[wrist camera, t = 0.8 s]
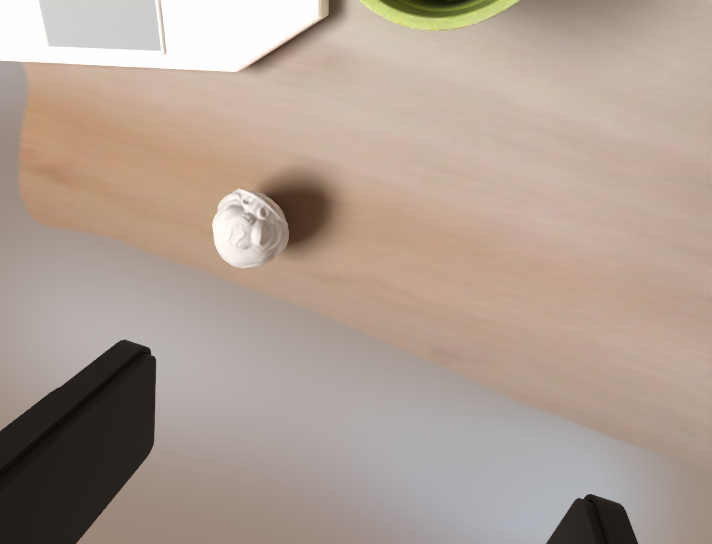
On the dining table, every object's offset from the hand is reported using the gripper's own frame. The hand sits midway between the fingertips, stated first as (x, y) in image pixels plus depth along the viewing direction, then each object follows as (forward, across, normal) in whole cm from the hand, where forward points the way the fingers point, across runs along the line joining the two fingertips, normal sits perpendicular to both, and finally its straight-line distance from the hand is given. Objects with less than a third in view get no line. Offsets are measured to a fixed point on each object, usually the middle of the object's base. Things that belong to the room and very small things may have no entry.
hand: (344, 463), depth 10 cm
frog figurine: (+28, +12, +6) cm, 31 cm away
